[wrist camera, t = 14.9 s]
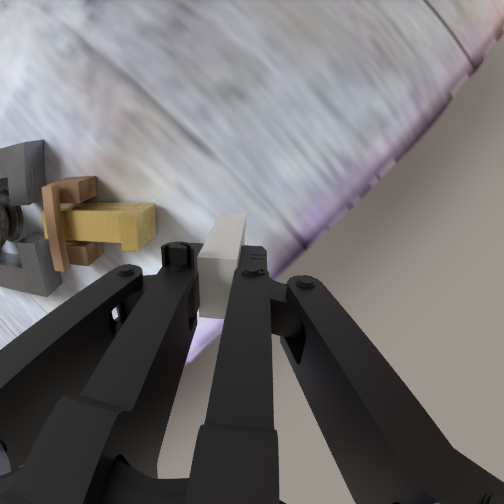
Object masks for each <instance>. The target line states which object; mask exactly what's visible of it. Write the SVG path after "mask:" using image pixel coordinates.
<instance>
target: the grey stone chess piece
mask: <svg viewBox="0 0 504 504" xmlns="http://www.w3.org/2000/svg"><path fill="white" fill-rule="evenodd" d="M22 227H23V217H22V211H21V208H20V206H10V198H9V190H7V189H2V190H0V249H1V248H2V247H3V245H4V243H5V242H6V240H8V241H15V240H17V239H18V238H19V237H20V235H21V232H22Z"/></svg>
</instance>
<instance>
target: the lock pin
mask: <svg viewBox="0 0 504 504" xmlns="http://www.w3.org/2000/svg"><path fill="white" fill-rule="evenodd" d="M60 208H61V217H62V224H63V231H64V237H65V240H76V241H94V242H111V243H121V249H122V251H136V252H139V251H140V250H141V249H142V248H143V247H144V246H145V245H146V244H147V243H148V242H149V241H150V240H151V239H152V237H153V236H154V235H155V234H156V233H157V232H156V213H155V203H66V204H60ZM41 214H42V221H43V227H44V233H45V239H48V234H47V228H46V221H45V214H44V210H42V211H41Z"/></svg>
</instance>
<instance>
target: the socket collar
mask: <svg viewBox="0 0 504 504" xmlns="http://www.w3.org/2000/svg"><path fill="white" fill-rule="evenodd" d="M7 177H8V189H9V198H10V206H20V205H30V204H32V203H34V202H37V201H39V200H41V199H43V197H42V187H44V186H46V184H45V169H44V140H38V141H31V142H24V143H20V144H16V145H12V146H9V147H5V148H2V149H0V179H1V178H7ZM17 246H18V251H19V255H17V254H8V253H0V286H1V287H5V288H9V289H14V290H18V291H22V292H27V293H31V294H36V295H40V296H45V297H48V296H49V295H50V294H51V293H52V292H53V291H55V290H56V289H57V288H58V287H59V286H60V285H61V284H62V281H61V277H60V273H59V271H55V269H54V264H53V260H52V255H51V250H50V245H49V239H45V233H32V234H30V235H29V236H27V237H25V238H24V239H22V240H20V241H19V242H17Z"/></svg>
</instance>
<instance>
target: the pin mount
mask: <svg viewBox="0 0 504 504" xmlns="http://www.w3.org/2000/svg"><path fill="white" fill-rule="evenodd" d="M95 196H97V191H96V176H86V177H72V178H64V179H61V180H58V181H55V182H52V183H49V184H48V185H47V186H44V187H42V197H43V206H44V214H45V221H46V228H47V234H48V239H49V245H50V250H51V255H52V260H53V264H54V269H55V271H60V272H65V271H66V270H67V269H69V268H70V265H69V264H73V265H83V266H89V265H90V264H92V263H93V262H94V261H95V260H96V259H97V258H98V257H100V256H101V255H102V254H103V248H102V242H94V241H76V240H65V237H64V231H63V224H62V217H61V208H60V204H66V203H81V202H84V201H86V200H88V199H90V198H92V197H95Z"/></svg>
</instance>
